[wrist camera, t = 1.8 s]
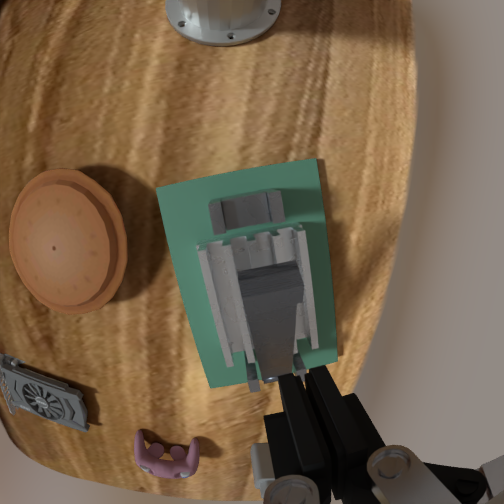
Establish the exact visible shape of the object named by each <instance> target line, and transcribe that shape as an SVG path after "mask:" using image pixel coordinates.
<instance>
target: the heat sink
mask: <svg viewBox="0 0 504 504" xmlns="http://www.w3.org/2000/svg"><path fill="white" fill-rule="evenodd" d="M208 208H209V213H210V218H211V223H212V228H213V232H214V235H219V234H224V233H226V228H227V230H232V229H237V228H242V227H247V226H252V225H258V224H263V223H268V222H272V223H273V224H276V223H281V222H286V221H285V215H284V209H283V203H282V197H281V191H279V190H275V189H271V188H269V189H263V190H258V191H252V192H247V193H242V194H236V195H231V196H226V197H222V199H221V198H216V199H211V200H210V202H209V204H208ZM196 248H197V252H198V257H199V261H200V265H201V270H202V274H203V278H204V282H205V286H206V290H207V294H208V298H209V302H210V306H211V310H212V314H213V318H214V322H215V325H216V329H217V333H218V337H219V340H220V344H221V348H222V351H223V355H224V358H225V362H226V365H227V367H232V366H234V359H233V353H235V352H240V351H244V356H245V364H246V372H247V380H248V384H249V388H250V392H251V393H252V392H257V391H260V385H259V380H258V374H257V369H256V363H255V357H254V351H253V349H255V348H254V344H253V340H252V335H251V331H250V327H249V323H248V318H247V314H246V313H245V309H244V304H243V300H242V295H241V290H240V285H239V279H238V274H237V272H238V271H243V270H248V269H253V268H258V267H263V266H268V265H273V264H278V263H283V262H288V261H293V260H296V262H297V265H298V268H299V271H300V274H301V277H302V280H303V283H304V295H303V303H298V304H297V312H296V327H295V341H294V354H293V366H292V368H293V371H294V374H295V376H298V375H300V377H301V379H302V382H303V381H305V378H304V374H306V373H307V372H306V367H305V365H304V362H303V360H302V358H301V355H300V353H299V351H298V348H297V341H296V340H297V339H302V338H307V340H308V342H309V344H310V346H311V348H312V349H316V348H319V345H318V334H317V324H316V314H315V305H314V296H313V287H312V279H311V271H310V263H309V255H308V247H307V240H306V233H305V230H304V229H302V225H301V224H299V223H298V222H293V223H288V224H283V225H278V226H272V227H267V228H262V229H257V230H251V231H246V232H241V233H236V234H231V235H226V236H221V237H216V238H211V239H206V240H201V241H198V242H197V244H196Z"/></svg>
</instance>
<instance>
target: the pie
mask: <svg viewBox="0 0 504 504" xmlns="http://www.w3.org/2000/svg"><path fill="white" fill-rule="evenodd" d="M9 247H10V254H11V257H12V260H13V263H14V265H15V268H16V271H17V272H18V274H19V276H20V278H21V279H22V281H23V283H24V284H25V286H26V287H27V288H28V290H29V291H30V292H31V293H32V294H33V295H34V296H35V297H36V299H37V300H38V301H40V302H41V303H43V304H44V305H46V306H47V307H49V308H50V309H52V310H54V311H58V312H61V313H64V314H68V315H72V314H85V313H88V312H91V311H95V310H98V309H101V308H102V307H103V306H104V305H105V304H106V303H107V302H108V301H109V300H111V299H112V298H113V297H114V295H115V293H116V291H117V290H118V288H119V286H120V285H121V283H122V281H123V278H124V274H125V270H126V266H127V262H128V250H127V235H126V231H125V226H124V222H123V217H122V214H121V212H120V210H119V209H118V207H117V205H116V203H115V201H114V199H113V198H112V196H111V194H110V193H108V192H107V191H106V190H105V189H104V188H103V187H102V186H101V185H99V184H98V183H97V182H96V181H95V180H93V179H92V178H90V177H89V176H87V175H85V174H84V173H82V172H81V171H79V170H73V169H65V168H59V169H54V170H49V171H44V172H42V173H41V174H39V175H38V176H36V177H35V178H33V179H32V180H30V181H29V182H28V184H27V185H26V186H25V188H24V189H23V190H22V192H21V193H20V195H19V196H18V199H17V201H16V203H15V206H14V209H13V211H12V214H11V221H10V228H9Z"/></svg>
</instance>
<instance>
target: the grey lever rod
mask: <svg viewBox="0 0 504 504" xmlns="http://www.w3.org/2000/svg"><path fill="white" fill-rule="evenodd" d="M237 274H238V279H239V285H240V290H241V295H242V300H243V304H244V309H245V313H246V314H247V318H248V323H249V327H250V331H251V335H252V340H253V344H254V348H255V352H256V356H257V360H258V364H259V369H260V373H261V377H262V381H264V384H266V383H271V382H275V381H278V377H277V376H280V375H284V374H289V373H292V366H293V354H294V341H295V327H296V312H297V304H298V303H303V295H304V283H303V280H302V277H301V274H300V271H299V268H298V265H297V262H296V260H293V261H288V262H283V263H278V264H273V265H268V266H263V267H258V268H253V269H248V270H243V271H238V272H237Z"/></svg>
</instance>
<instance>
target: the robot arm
mask: <svg viewBox="0 0 504 504" xmlns="http://www.w3.org/2000/svg"><path fill="white" fill-rule="evenodd" d="M280 8H281V0H166V7H165V10H166V13H167V17H168V19H169V22H170V24H171V25H172V27H173V28H174V29H175V30H176V31H177V32H178V33H179V34H181V35H182V36H183V37H185V38H187V39H189V40H191V41H194V42H197V43H200V44H204V45H210V46H230V45H237V44H241V43H245V42H248V41H250V40H253V39H255V38H257V37H259V36H260V35H262V34H264V33H265V32H266V31H267V30H268V29H270V28H271V27H272V25H273V24H274V22H275V21H276V20H277V17H278V15H279V12H280ZM270 14H271V15H270ZM182 26H184V27H182ZM229 38H233V39H229ZM277 377H278V383H279V389H280V394H281V400H282V405H283V411H284V412H279V413H275V414H270V415H265V416H264V422H265V428H266V433H267V439H268V444H269V450H270V455H271V460H272V466H273V471H274V476H275V481H273V482H272V483H271V484H270V485H269V486H268V487H267V489H266V490H265V494H264V502H263V504H330V502H331V489H332V492H333V495H334V498H335V500H339V499H341V500H342V502H343V504H504V455H503V456H500V457H498V458H496V459H494V460H492V461H490V462H488V463H485V464H483V465H481V467H480V468H478V469H476V470H474V469H468V468H458V467H451V466H443V465H436V464H430V463H425V462H422V461H421V460H420V459H419V458H418V457H417V456H416V455H415V454H414V453H413V452H412V451H411V450H410V449H408V448H407V447H404V446H401V445H389V446H386V445H385V444H384V442H383V440H382V438H381V437H380V435H379V433H378V432H377V430H376V428H375V426H374V425H373V423H372V421H371V419H370V418H369V416H368V414H367V413H366V411H365V409H364V408H363V406H362V404H361V402H360V401H359V399H358V397H357V396H356V395H355V394H354V393H352V394H349V395H345V396H341V394H340V392H339V390H338V388H337V386H336V384H335V382H334V380H333V379H332V377H331V375H330V373H329V371H328V369H327V367H326V366H325V365H321V366H317V367H314V368H310V369H309V373H306V374H304V378H305V386H306V390H305V387H304V385H303V382H302V379H301V377H300V375H298V376H294V374H293V373H289V374H284V375H280V376H277Z"/></svg>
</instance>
